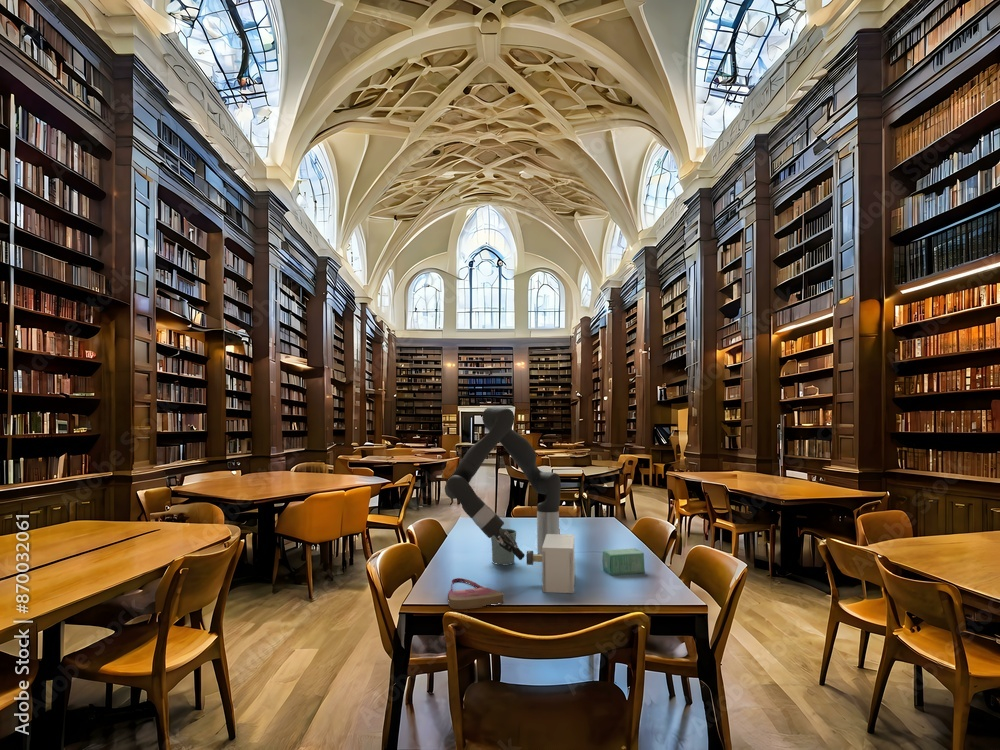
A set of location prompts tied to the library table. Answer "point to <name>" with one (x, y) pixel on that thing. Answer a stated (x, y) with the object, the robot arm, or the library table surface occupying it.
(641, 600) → the library table surface
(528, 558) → the knob
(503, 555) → the grey green cup
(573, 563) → the console
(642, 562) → the box
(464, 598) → the shoulder bag
